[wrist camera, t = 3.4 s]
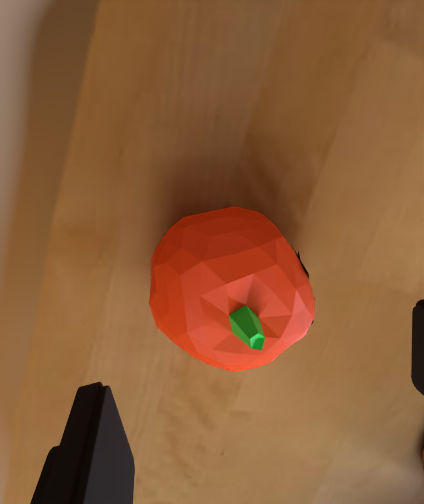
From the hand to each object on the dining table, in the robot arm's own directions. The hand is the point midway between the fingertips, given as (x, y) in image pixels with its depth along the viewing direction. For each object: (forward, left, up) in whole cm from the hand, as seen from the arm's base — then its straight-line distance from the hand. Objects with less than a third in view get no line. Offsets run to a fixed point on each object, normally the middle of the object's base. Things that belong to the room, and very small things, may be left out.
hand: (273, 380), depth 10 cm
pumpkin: (0, 0, -9) cm, 9 cm away
